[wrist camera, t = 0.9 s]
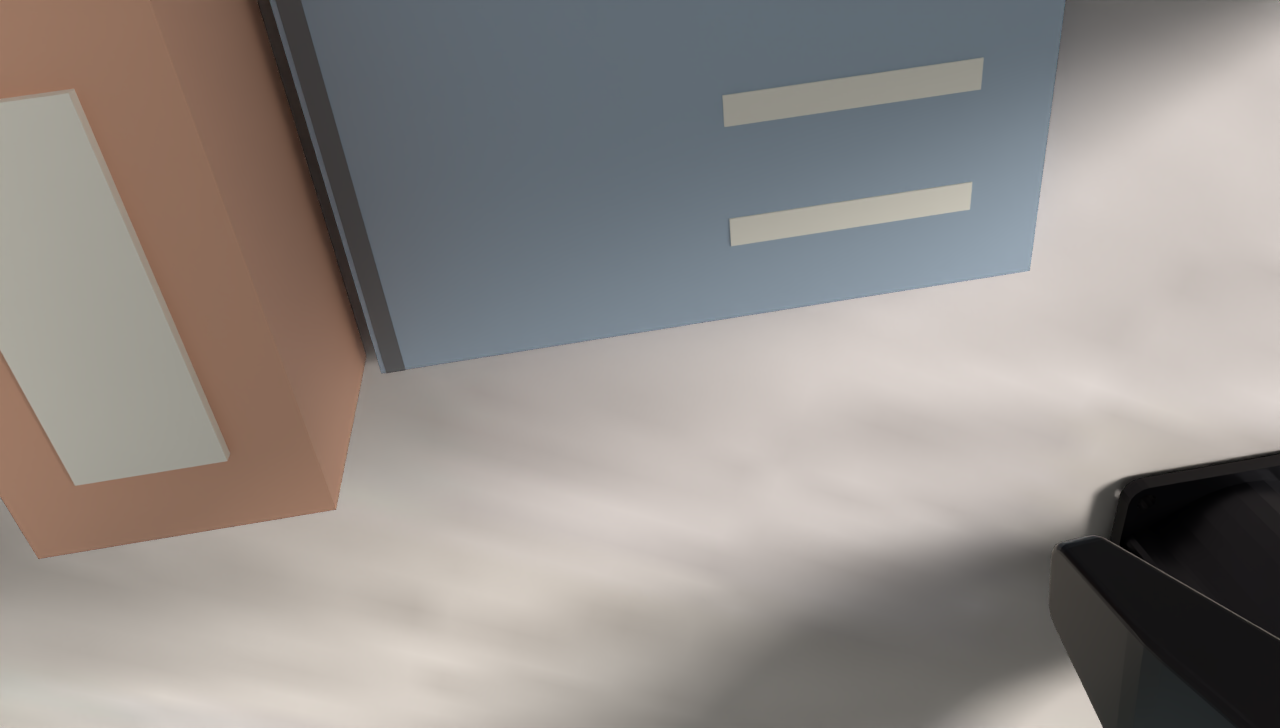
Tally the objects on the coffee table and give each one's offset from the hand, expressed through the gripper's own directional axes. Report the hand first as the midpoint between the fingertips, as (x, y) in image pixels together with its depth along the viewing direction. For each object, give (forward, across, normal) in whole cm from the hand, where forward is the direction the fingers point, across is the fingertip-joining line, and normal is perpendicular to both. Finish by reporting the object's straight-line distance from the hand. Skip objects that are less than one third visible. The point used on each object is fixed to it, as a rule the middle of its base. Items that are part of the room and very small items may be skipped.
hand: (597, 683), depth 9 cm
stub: (+12, +7, -2) cm, 14 cm away
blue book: (+12, -3, -1) cm, 13 cm away
